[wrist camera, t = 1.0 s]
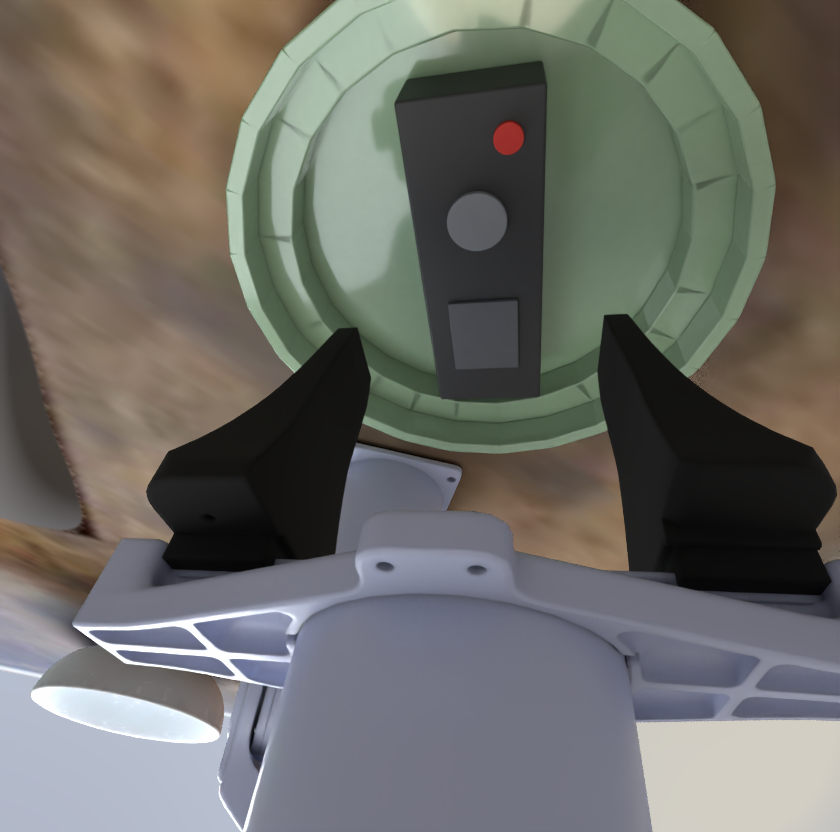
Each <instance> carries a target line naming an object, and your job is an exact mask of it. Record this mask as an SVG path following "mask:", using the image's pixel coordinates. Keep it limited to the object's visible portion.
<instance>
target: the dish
mask: <svg viewBox="0 0 840 832" xmlns="http://www.w3.org/2000/svg"><path fill="white" fill-rule="evenodd" d="M537 61H542V62H543V65H544V70H545V75H546V80H547V120H546V163H545V205H544V247H543V290H542V332H541V374H540V396H539V397H522V398H479V399H441V398H440V394H439V387H438V381H437V375H436V368H435V362H434V355H433V349H432V343H431V336H430V330H429V323H428V317H427V311H426V304H425V298H424V292H423V285H422V279H421V272H420V266H419V260H418V253H417V247H416V241H415V234H414V228H413V221H412V215H411V209H410V202H409V196H408V190H407V183H406V177H405V170H404V164H403V158H402V151H401V145H400V139H399V132H398V126H397V119H396V113H395V107H394V103H395V100H396V98H397V97H398V95H399V93H400V91H401V89H402V87H403V85H404V83H405V81H406V80H407V79H413V78H420V77H428V76H435V75H442V74H449V73H457V72H464V71H471V70H478V69H486V68H493V67H500V66H508V65H515V64H522V63H529V62H537ZM775 183H776V179H775V174H774V169H773V164H772V158H771V153H770V148H769V143H768V138H767V133H766V127H765V122H764V117H763V112H762V107H761V106H760V102H759V100H758V98H757V97H756V95H755V93H754V92H753V90H752V89H751V87H750V85H749V84H748V82H747V80H746V79H745V77H744V75H743V74H742V72H741V70H740V69H739V67H738V65H737V64H736V62H735V61H734V59H733V57H732V56H731V54H730V52H729V51H728V49H727V47H726V46H725V44H724V42H723V41H722V39H721V37H720V36H719V34H718V33H717V31H715V30H714V28H713V27H712V26H711V25H709V24H708V23H707V22H705V21H704V20H703V19H702V18H700V17H699V16H698V15H696V14H695V13H694V12H692V11H691V10H690V9H689V8H687V7H686V6H685V5H683V4H682V3H681V2H679V1H678V0H335V1H334V2H333V3H331V4H330V5H329V6H328V7H327V8H326V9H325V10H324V11H323V12H321V13H320V14H319V15H318V16H317V17H316V18H315V19H314V20H312V21H311V22H310V23H309V24H308V25H307V26H306V27H305V28H304V29H302V30H301V31H300V32H299V33H298V34H297V35H296V36H295V37H293V38H292V39H291V40H290V41H289V42H288V43H287V44H286V45H285V46H284V47H283V48H282V49H281V50H280V52H279V54H278V56H277V57H276V59H275V61H274V62H273V64H272V66H271V68H270V69H269V71H268V73H267V75H266V76H265V78H264V80H263V81H262V83H261V85H260V87H259V88H258V90H257V92H256V94H255V95H254V97H253V99H252V100H251V102H250V104H249V106H248V107H247V109H246V111H245V113H244V114H243V116H242V119H241V122H240V127H239V131H238V136H237V140H236V145H235V149H234V153H233V158H232V162H231V167H230V171H229V176H228V180H227V184H226V200H227V216H228V232H229V249H230V256H231V259H232V262H233V265H234V268H235V271H236V274H237V277H238V280H239V283H240V286H241V289H242V292H243V295H244V298H245V301H246V304H247V307H248V309H249V311H250V312H251V314H252V316H253V317H254V319H255V320H256V322H257V323H258V325H259V327H260V328H261V330H262V331H263V333H264V334H265V336H266V338H267V339H268V341H269V342H270V344H271V346H272V347H273V349H274V350H275V352H276V353H277V355H278V356H279V358H280V359H281V360H282V361H283V362H284V363H285V364H286V365H287V366H288V367H289V368H290V369H291V370H292V371H293V372H294V373H295V372H296V371H297V370H298V369H299V368H300V367H301V366H302V365H303V364H304V363H305V362H306V361H307V360H308V359H309V358H310V357H311V356H312V355H313V354H314V353H315V352H316V351H317V350H318V349H319V348H320V347H321V346H322V345H323V344H324V343H325V341H326V340H327V339H328V338H329V337H330V336H331V335H332V334H333V333H334V332H335V331H336V330H337V329H338V328H352V327H357V328H358V331H359V335H360V339H361V342H362V346H363V350H364V353H365V357H366V361H367V364H368V368H369V372H370V375H371V384H370V392H369V398H368V404H367V408H366V412H365V415H364V419H363V422H362V423H363V424H365V425H368V426H370V427H372V428H375V429H377V430H380V431H382V432H384V433H387V434H389V435H391V436H394V437H396V438H398V439H401V440H404V441H408V442H412V443H416V444H421V445H425V446H429V447H434V448H438V449H443V450H447V451H455V452H474V453H493V454H500V453H501V454H504V453H512V452H521V451H529V450H538V449H546V448H551V447H552V448H553V447H556V446H560V445H563V444H566V443H570V442H573V441H576V440H580V439H583V438H586V437H589V436H593V435H596V434H599V433H602V432H604V431H606V430H608V429H607V425H606V421H605V417H604V413H603V409H602V405H601V401H600V392H599V383H598V373H597V369H598V361H599V353H600V344H601V336H602V328H603V320H604V315H611V314H628V315H629V316H630V317H631V318H632V320H633V321H634V322H635V323H636V324H637V326H638V327H639V328H640V329H641V330H642V332H643V333H644V334H645V335H646V336H647V338H648V339H649V340H650V341H651V342H652V343H653V344H654V345H655V347H656V348H657V349H658V350H659V351H660V352H661V353H662V354H663V355H664V356H665V357H666V358H667V359H668V360H669V361H670V362H671V363H672V364H673V365H674V366H675V367H676V368H677V369H678V370H679V371H681V372H682V373H683V374H684V375H685V376H686V377H687V378H689V377H690V376H691V375H692V374H694V373H695V372H696V371H697V370H698V369H699V368H700V367H701V366H702V365H703V363H704V362H705V361H706V360H707V358H708V357H709V356H710V355H711V353H712V352H713V351H714V350H715V348H716V347H717V346H718V345H719V343H720V342H721V341H722V339H723V338H724V337H725V336H726V334H727V333H728V332H729V331H730V329H731V328H732V327H733V326H734V324H735V323H736V322H737V320H738V318H739V317H740V315H741V312H742V310H743V308H744V306H745V304H746V301H747V299H748V297H749V295H750V292H751V290H752V288H753V286H754V283H755V281H756V279H757V277H758V274H759V272H760V270H761V268H762V266H763V263H764V261H765V257H766V255H767V248H768V241H769V233H770V226H771V218H772V211H773V204H774V196H775V189H776V185H775Z"/></svg>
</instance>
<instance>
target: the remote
mask: <svg viewBox="0 0 840 832" xmlns="http://www.w3.org/2000/svg"><path fill="white" fill-rule="evenodd" d="M394 107H395V113H396V119H397V126H398V132H399V139H400V145H401V151H402V158H403V164H404V170H405V177H406V183H407V190H408V196H409V202H410V209H411V215H412V221H413V228H414V234H415V241H416V247H417V253H418V260H419V266H420V272H421V279H422V285H423V292H424V298H425V304H426V311H427V317H428V323H429V330H430V336H431V343H432V349H433V355H434V362H435V368H436V375H437V381H438V387H439V394H440V398H441V399H479V398H522V397H539V396H540V374H541V332H542V290H543V247H544V205H545V163H546V120H547V80H546V75H545V70H544V65H543V62H542V61H537V62H529V63H522V64H515V65H508V66H500V67H493V68H486V69H478V70H471V71H464V72H457V73H449V74H442V75H435V76H428V77H420V78H413V79H407V80H406V81H405V83H404V85H403V87H402V89H401V91H400V93H399V95H398V97H397V98H396V100H395V103H394Z"/></svg>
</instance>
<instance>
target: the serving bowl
mask: <svg viewBox="0 0 840 832" xmlns="http://www.w3.org/2000/svg"><path fill="white" fill-rule="evenodd" d="M31 698H32V699H33V700H34V701H35V702H36V703H37V704H38V705H40V706H41V707H43V708H45V709H47V710H49V711H51V712H53V713H55V714H57V715H60V716H62V717H65V718H68V719H70V720H73V721H76V722H79V723H82V724H85V725H89V726H92V727H95V728H99V729H103V730H107V731H110V732H115V733H119V734H124V735H129V736H134V737H139V738H145V739H152V740H159V741H167V742H178V743H203V742H210V741H214V740H216V739H218V738H219V736H220V734H221V729H222V724H223V718H224V704H223V698H222V695H221V692H220V690H219V687H218V686H217V684H216V683H215V681H214V680H213V679H212V678H211V677H210V676H209V675H208V674H202V673H196V672H191V671H185V670H178V669H171V668H163V667H156V666H146V665H136V664H126V663H124V662H123V661H121V660H120V659H119V658H117V657H116V656H114V655H113V654H112V653H110V652H109V651H107V650H106V649H105V648H103V647H102V646H100V645H95V646H90V647H86V648H82V649H79V650H77V651H75V652H72V653H70V654H69V655H67V656H65V657H63V658H62V659H60V660H59V661H58V662H56V663H55V664H54V665H53V666H52V667H51V668H49V669H48V671H47V672H46V673H45V674H44V675H43V676H42V677H41V679H40V680H39V681H38V682H37V684H36V685H35V686H34V688H33V689H32V691H31Z"/></svg>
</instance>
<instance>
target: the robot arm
mask: <svg viewBox="0 0 840 832" xmlns="http://www.w3.org/2000/svg"><path fill="white" fill-rule="evenodd" d="M597 373H598V383H599V392H600V401H601V405H602V409H603V413H604V417H605V421H606V425H607V429H608V433H609V437H610V441H611V445H612V449H613V452H614V456H615V460H616V465H617V470H618V475H619V483H620V490H621V498H622V506H623V515H624V523H625V532H626V542H627V552H628V562H629V571H608V570H600V569H596V568H591V567H586V566H582V565H577V564H573V563H568V562H563V561H559V560H554V559H550V558H545V557H540V556H536V555H531V554H527V553H522V552H518V551H515V550H514V547H513V534H512V532H511V530H510V528H509V526H508V524H507V523H505V522H504V521H502V520H500V519H498V518H497V517H495V516H493V515H491V514H486V513H481V512H475V511H446V510H447V508H448V506H449V503H450V501H451V499H452V497H453V494H454V492H455V490H456V487H457V485H458V483H459V481H460V478H461V476H462V469H461V468H460V467H459V466H456V465H453V464H448V463H444V462H439V461H435V460H430V459H426V458H422V457H417V456H413V455H408V454H404V453H400V452H395V451H391V450H386V449H382V448H378V447H373V446H369V445H364V444H360V443H356V442H357V439H358V435H359V432H360V429H361V426H362V422H363V419H364V415H365V412H366V408H367V404H368V398H369V392H370V384H371V375H370V372H369V368H368V364H367V361H366V357H365V353H364V350H363V346H362V342H361V339H360V335H359V331H358V328H357V327H352V328H338V329H337V330H336V331H335V332H334V333H333V334H332V335H331V336H330V337H329V338H328V339H327V340H326V341H325V343H324V344H323V345H322V346H321V347H320V348H319V349H318V350H317V351H316V352H315V353H314V354H313V355H312V356H311V357H310V358H309V359H308V360H307V361H306V362H305V363H304V364H303V365H302V366H301V367H300V368H299V369H298V370H297V371H296V372H295V373H294V374H293V375H292V376H291V377H290V378H289V379H287V380H286V381H285V382H284V383H283V384H282V385H281V386H280V387H279V388H277V389H276V390H275V391H274V392H273V393H271V394H270V395H269V396H267V397H266V398H265V399H263V400H262V401H261V402H259V403H258V404H257V405H255V406H254V407H252V408H251V409H249V410H248V411H246V412H245V413H243V414H242V415H240V416H238V417H237V418H235V419H234V420H232V421H230V422H229V423H227V424H225V425H223V426H222V427H220V428H218V429H216V430H214V431H212V432H210V433H208V434H207V435H205V436H202V437H200V438H198V439H196V440H194V441H192V442H189V443H187V444H185V445H182V446H180V447H178V448H176V449H173V450H171V451H169V452H168V453H167V455H166V456H165V458H164V460H163V461H162V463H161V465H160V466H159V468H158V470H157V471H156V473H155V475H154V476H153V478H152V480H151V481H150V483H149V485H148V487H147V491H146V493H147V497H148V500H149V502H150V504H151V505H152V507H153V508H154V510H155V511H156V512H157V513H158V514H159V515H160V517H161V518H162V519H163V520H164V521H165V523H166V524H167V525H168V526H169V527H170V528H171V530H172V531H173V532H174V535H173V537H172V539H171V541H170V543H169V544H168V543H167V542H165V541H162V540H158V539H138V538H124V539H121V541H120V543H119V544H118V546H117V548H116V549H115V551H114V553H113V555H112V556H111V558H110V560H109V561H108V563H107V565H106V566H105V568H104V570H103V571H102V573H101V575H100V577H99V578H98V580H97V582H96V583H95V585H94V587H93V588H92V590H91V592H90V594H89V595H88V597H87V599H86V600H85V602H84V604H83V605H82V607H81V609H80V611H79V612H78V614H77V616H76V617H75V619H74V621H73V622H72V624H73V626H74V627H75V628H76V629H78V630H79V631H81V632H82V633H83V634H85V635H86V636H88V637H89V638H90V639H92V640H93V641H95V642H96V643H97V644H99V645H100V646H102V647H103V648H105V649H106V650H107V651H109V652H110V653H112V654H113V655H114V656H116V657H117V658H119V659H120V660H121V661H123V662H124V663H126V664H136V665H146V666H156V667H163V668H171V669H178V670H185V671H191V672H196V673H202V674H208V675H213V676H218V677H223V678H229V679H234V680H239V681H241V682H240V686H239V689H238V692H237V696H236V699H235V703H234V707H233V710H232V714H231V718H230V724H229V728H228V740H227V743H226V747H225V750H224V754H223V758H222V761H221V764H220V767H219V771H218V775H217V776H218V779H219V782H220V783H221V785H220V788H219V796H220V799H221V801H222V802H223V805H224V806H225V808H226V809H227V811H228V813H229V814H230V816H231V817H232V819H233V820H234V822H235V823H236V825H237V826H238V828H239V829H240V831H241V832H652V826H651V819H650V813H649V806H648V800H647V793H646V786H645V779H644V773H643V766H642V760H641V753H640V747H639V740H638V733H637V727H636V722H681V721H735V720H827V721H828V720H829V721H840V559H838V560H833V561H830V562H827V563H826V564H823V562H822V560H821V558H820V555H819V553H818V551H817V550H820V548H821V547H822V542H821V540H820V538H819V536H818V534H817V532H816V528H817V527H818V526H819V524H820V523H821V521H822V520H823V518H824V517H825V515H826V514H827V512H828V511H829V510H830V508H831V507H832V505H833V503H834V501H835V498H836V496H837V491H836V485H835V483H834V481H833V479H832V477H831V476H830V474H829V472H828V470H827V468H826V467H825V465H824V463H823V462H822V460H821V459H820V457H819V456H818V455H817V453H816V452H815V450H814V449H813V447H810V446H808V445H805V444H803V443H801V442H798V441H796V440H793V439H791V438H789V437H786V436H784V435H781V434H779V433H777V432H774V431H772V430H770V429H768V428H766V427H764V426H762V425H760V424H758V423H756V422H754V421H752V420H750V419H749V418H747V417H745V416H743V415H741V414H739V413H738V412H736V411H734V410H733V409H731V408H730V407H728V406H726V405H725V404H723V403H721V402H720V401H718V400H717V399H715V398H714V397H712V396H711V395H709V394H708V393H707V392H705V391H704V390H703V389H701V388H700V387H699V386H697V385H696V384H695V383H693V382H692V381H691V380H690V379H689V378H687V377H686V376H685V375H684V374H683V373H682V372H681V371H679V370H678V369H677V368H676V367H675V366H674V365H673V364H672V363H671V362H670V361H669V360H668V359H667V358H666V357H665V356H664V355H663V354H662V353H661V352H660V351H659V350H658V349H657V348H656V347H655V345H654V344H653V343H652V342H651V341H650V340H649V339H648V338H647V336H646V335H645V334H644V333H643V332H642V330H641V329H640V328H639V327H638V326H637V324H636V323H635V322H634V321H633V320H632V318H631V317H630V316H629V315H628V314H611V315H604V320H603V328H602V336H601V344H600V353H599V361H598V369H597Z"/></svg>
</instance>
